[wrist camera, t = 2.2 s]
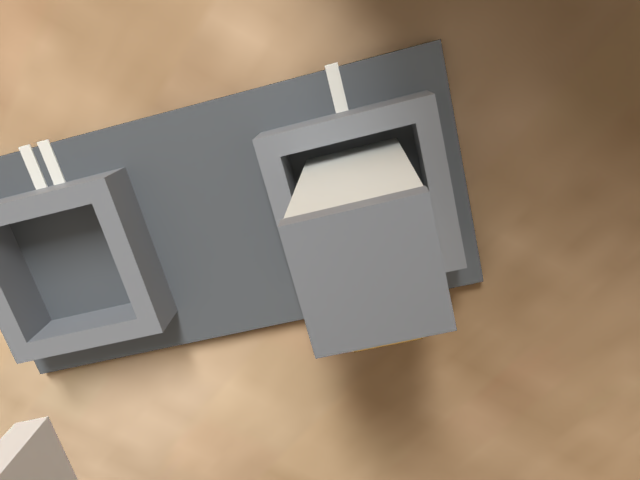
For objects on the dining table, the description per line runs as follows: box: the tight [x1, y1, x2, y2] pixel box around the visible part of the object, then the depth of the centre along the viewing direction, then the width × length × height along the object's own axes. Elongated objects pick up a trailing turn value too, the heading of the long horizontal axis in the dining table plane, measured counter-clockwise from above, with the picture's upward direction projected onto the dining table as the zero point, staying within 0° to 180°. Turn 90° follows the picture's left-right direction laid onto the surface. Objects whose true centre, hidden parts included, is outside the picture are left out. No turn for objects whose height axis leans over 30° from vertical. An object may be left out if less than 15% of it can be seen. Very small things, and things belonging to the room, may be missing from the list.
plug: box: [277, 138, 457, 359], centre depth 22 cm, size 6×4×11 cm
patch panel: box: [0, 39, 483, 374], centre depth 27 cm, size 12×25×3 cm, turn 104°
